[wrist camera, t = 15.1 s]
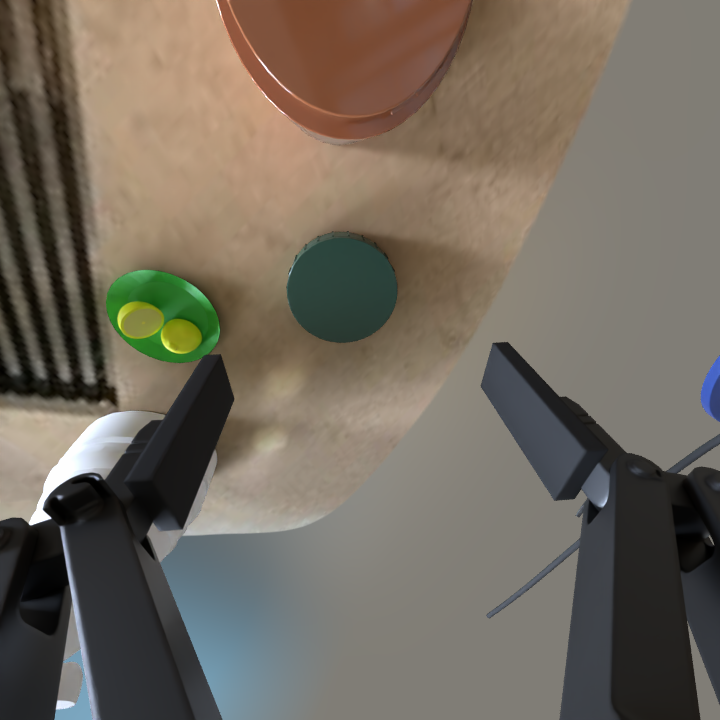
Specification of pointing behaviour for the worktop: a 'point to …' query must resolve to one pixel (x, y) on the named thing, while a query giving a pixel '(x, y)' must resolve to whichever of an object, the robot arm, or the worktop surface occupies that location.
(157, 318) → the lemons on plate
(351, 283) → the jar lid
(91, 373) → the worktop surface
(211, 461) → the honey pot
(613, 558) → the robot arm
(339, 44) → the jam jar
